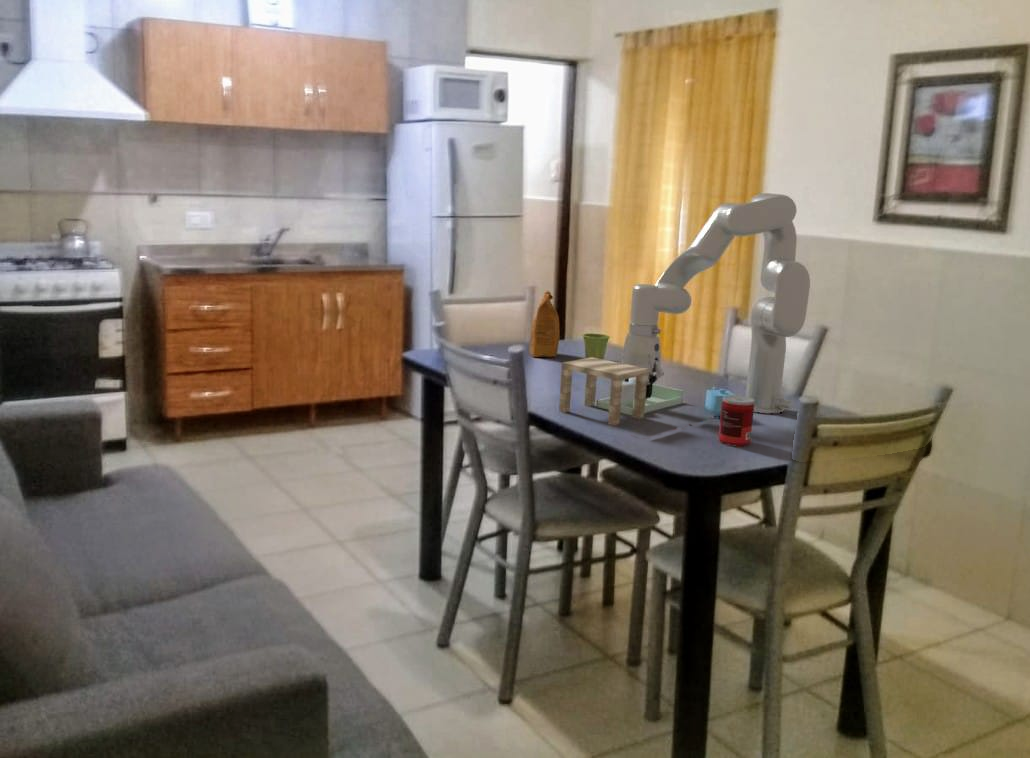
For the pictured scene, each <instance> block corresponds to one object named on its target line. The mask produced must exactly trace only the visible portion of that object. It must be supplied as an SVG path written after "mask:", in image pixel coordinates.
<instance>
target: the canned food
mask: <svg viewBox="0 0 1030 758" xmlns="http://www.w3.org/2000/svg"><path fill="white" fill-rule="evenodd" d="M754 413H755V412H754V400H753V399H752V398H749V397H746V395H745V396H744V395H736V394H735V395H727V396H724V397H723V399H722V407H721V416H720V417H719V418H720V419H719V429H718V440H719V442H720V443H721V442H722V443H721V444H723V443H725V444H729V445H728V446H730V445H736V446H735V447H746V446H745V445H747V446H749V444H750V442H751V437H752V429H753V427H752V426H753V419H754ZM725 444H724V445H725Z"/></svg>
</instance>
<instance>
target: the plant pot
mask: <svg viewBox="0 0 1030 758" xmlns="http://www.w3.org/2000/svg"><path fill="white" fill-rule="evenodd" d="M581 336H582V337H583V341H584V353H585V355H584V356H585V359H586V358H591V357H593V358H598V359H603V360H605V354H606V350H607V346H608V345H607V344H608V342H609V339H610V338H611V336H610V335H608V334H602V333H589V332H588V333H582V335H581Z"/></svg>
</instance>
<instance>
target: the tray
mask: <svg viewBox="0 0 1030 758" xmlns="http://www.w3.org/2000/svg"><path fill="white" fill-rule="evenodd" d="M683 402H684V389H679V388H674V387H670V386H669V387H668V386H667V385H666V386H665V385H661V384H655V383H654V384H653V387H652V395H651V397H650V398H647V400H646V401H645V409H644V414H646V413H650V412H653V411H658V410H661V409H665V408H668V407H673V406H677V405H681V404H683ZM609 405H610V396H609V397H605V398H601V399H597V400H596V404H595V406H596V408H600V409H603V410H604V409H605V410H608V411H609ZM633 412H634V404H633V408H630V407H626V406H621V407H620V414H624V415H629V416H632V417H633Z"/></svg>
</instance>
